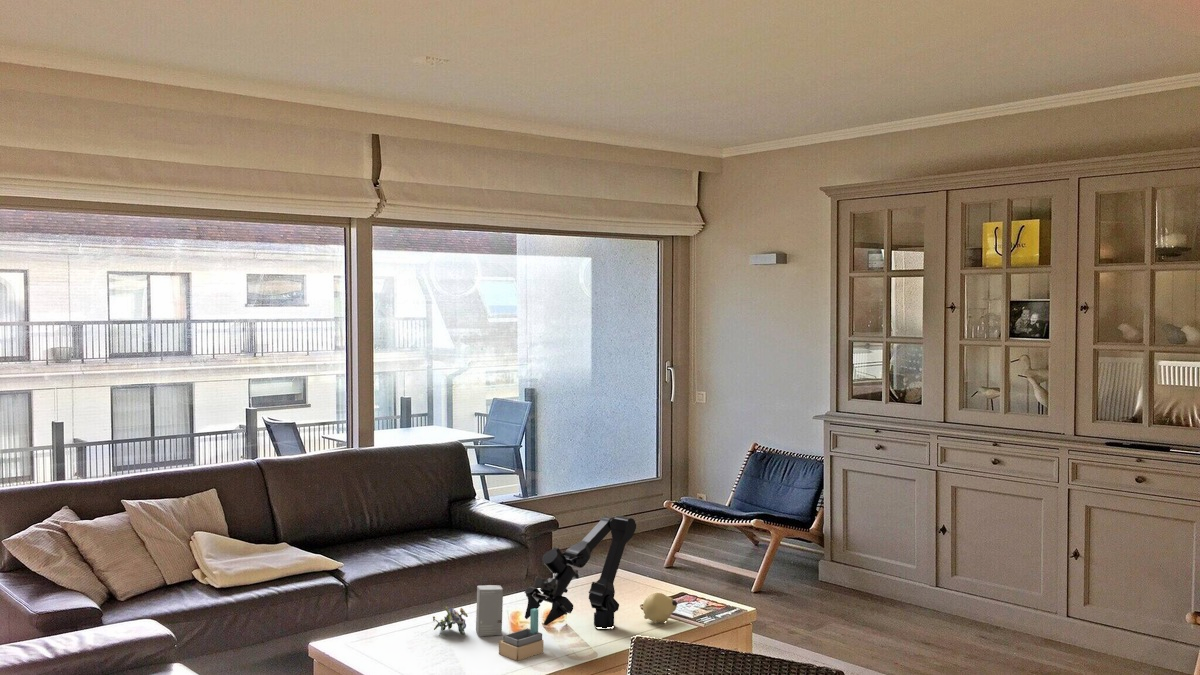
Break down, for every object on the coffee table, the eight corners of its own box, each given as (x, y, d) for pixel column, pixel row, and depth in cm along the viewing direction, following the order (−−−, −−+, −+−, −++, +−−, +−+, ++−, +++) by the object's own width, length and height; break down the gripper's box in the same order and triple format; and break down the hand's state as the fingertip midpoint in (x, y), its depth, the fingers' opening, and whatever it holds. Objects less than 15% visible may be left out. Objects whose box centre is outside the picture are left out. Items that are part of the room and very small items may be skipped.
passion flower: (461, 650, 329) (472, 627, 323) (430, 648, 325) (441, 624, 319) (458, 623, 338) (469, 600, 332) (428, 620, 334) (438, 597, 328)
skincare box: (478, 637, 326) (478, 590, 326) (475, 630, 333) (475, 584, 333) (503, 635, 328) (503, 588, 328) (499, 628, 335) (500, 583, 335)
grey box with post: (528, 644, 318) (529, 606, 318) (543, 650, 313) (543, 611, 313) (503, 652, 310) (503, 613, 310) (517, 658, 305) (518, 618, 305)
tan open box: (524, 645, 318) (525, 633, 318) (543, 652, 312) (543, 640, 312) (498, 653, 310) (499, 641, 310) (517, 660, 304) (517, 648, 304)
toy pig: (681, 623, 344) (681, 593, 344) (654, 629, 337) (654, 598, 337) (664, 616, 352) (665, 586, 352) (637, 621, 345) (638, 591, 345)
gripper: (529, 562, 325) (503, 601, 317) (567, 572, 312) (541, 613, 304) (546, 581, 331) (521, 620, 323) (584, 592, 318) (559, 633, 310)
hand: (535, 621), depth 315 cm, fingers open, 9 cm apart
